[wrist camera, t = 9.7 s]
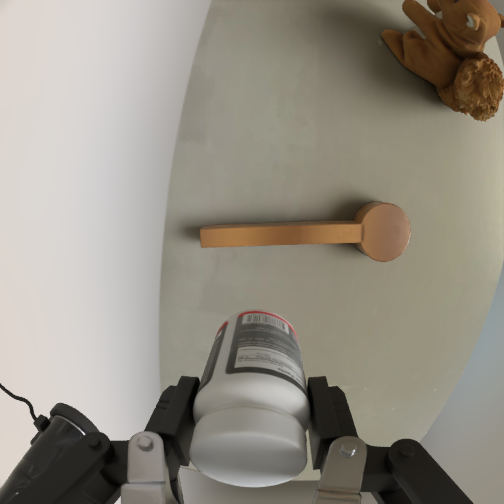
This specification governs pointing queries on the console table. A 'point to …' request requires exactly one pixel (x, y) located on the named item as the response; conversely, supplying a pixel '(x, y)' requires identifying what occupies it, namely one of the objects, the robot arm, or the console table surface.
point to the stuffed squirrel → (453, 52)
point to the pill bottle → (252, 404)
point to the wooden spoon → (323, 232)
